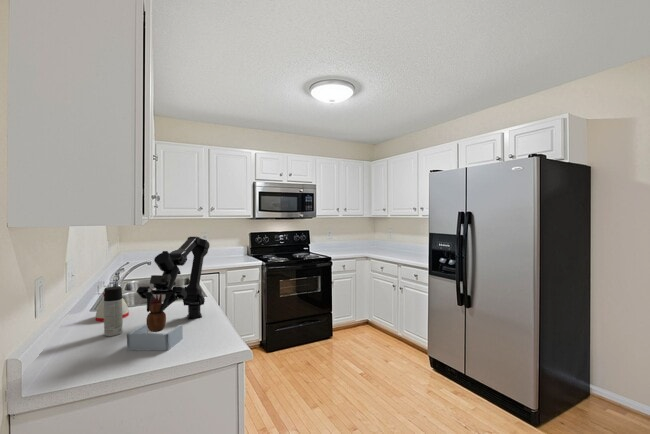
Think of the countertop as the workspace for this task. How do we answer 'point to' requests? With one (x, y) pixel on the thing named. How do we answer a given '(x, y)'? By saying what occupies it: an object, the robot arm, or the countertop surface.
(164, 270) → the robot arm
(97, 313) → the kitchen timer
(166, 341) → the cubby
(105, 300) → the spray can
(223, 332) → the countertop surface
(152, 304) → the wooden figurine
